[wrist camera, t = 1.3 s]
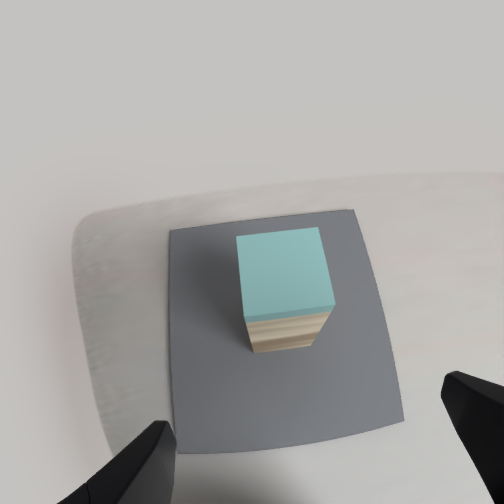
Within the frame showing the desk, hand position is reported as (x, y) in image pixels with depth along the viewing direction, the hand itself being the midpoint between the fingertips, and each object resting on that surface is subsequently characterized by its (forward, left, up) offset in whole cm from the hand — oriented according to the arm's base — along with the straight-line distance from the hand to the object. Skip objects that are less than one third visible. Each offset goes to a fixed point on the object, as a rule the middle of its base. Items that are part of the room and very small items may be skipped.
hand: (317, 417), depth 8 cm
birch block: (+6, 0, -12) cm, 14 cm away
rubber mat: (+6, 0, -13) cm, 14 cm away
